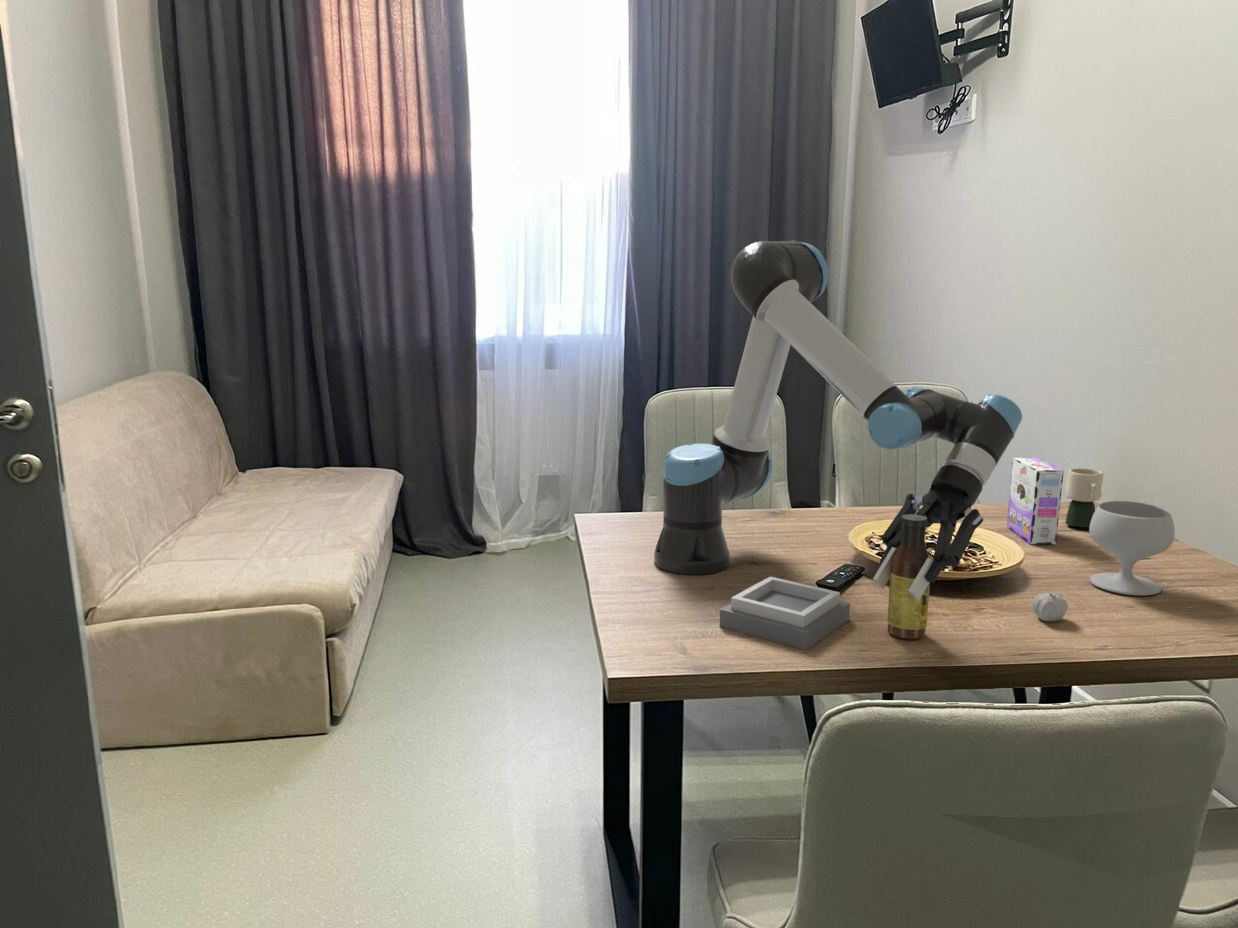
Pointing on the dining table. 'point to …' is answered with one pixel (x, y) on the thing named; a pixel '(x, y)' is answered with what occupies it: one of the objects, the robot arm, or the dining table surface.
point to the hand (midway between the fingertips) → (895, 589)
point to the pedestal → (786, 612)
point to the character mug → (1082, 495)
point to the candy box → (1035, 500)
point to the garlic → (1049, 606)
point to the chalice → (1130, 542)
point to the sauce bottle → (908, 581)
